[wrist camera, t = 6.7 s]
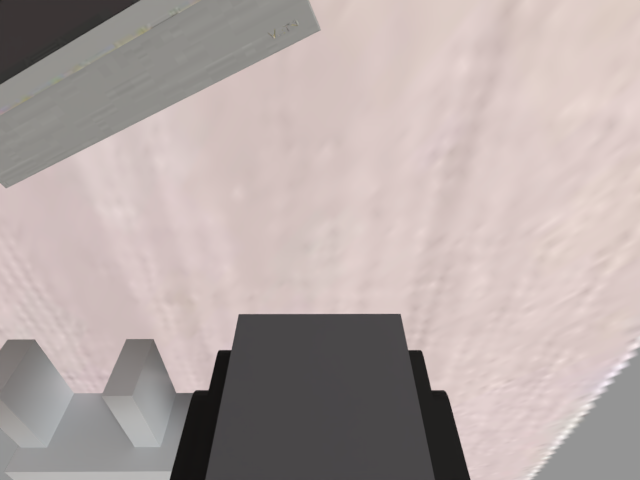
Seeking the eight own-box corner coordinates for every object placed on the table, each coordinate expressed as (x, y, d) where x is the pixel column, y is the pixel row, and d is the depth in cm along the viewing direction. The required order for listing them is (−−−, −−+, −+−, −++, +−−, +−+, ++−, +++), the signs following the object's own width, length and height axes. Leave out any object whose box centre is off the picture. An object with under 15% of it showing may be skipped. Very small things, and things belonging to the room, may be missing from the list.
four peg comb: (4, 339, 24) (-65, 435, 20) (393, 338, 24) (410, 432, 20) (65, 415, 30) (23, 502, 25) (379, 414, 30) (389, 500, 25)
